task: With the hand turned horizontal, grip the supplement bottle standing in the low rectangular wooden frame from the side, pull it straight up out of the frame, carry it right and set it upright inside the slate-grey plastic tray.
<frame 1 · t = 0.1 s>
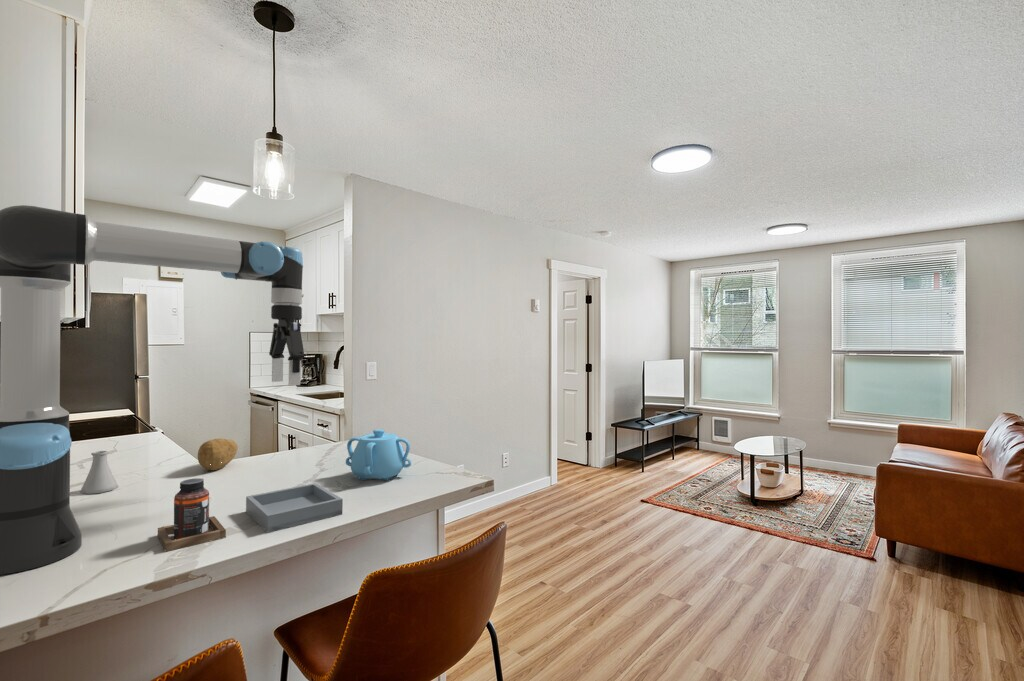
hand: (285, 383, 131), 28 cm above the table, tool pointing down, fingers open, 13 cm apart
tray: (294, 512, 112), on the table
supplement bottle: (191, 537, 98), resting in rectangular wooden frame
potato: (218, 468, 148), on the table
flask: (99, 491, 126), on the table
decorative pot: (378, 476, 142), on the table
rectangular wooden frame: (191, 536, 98), on the table
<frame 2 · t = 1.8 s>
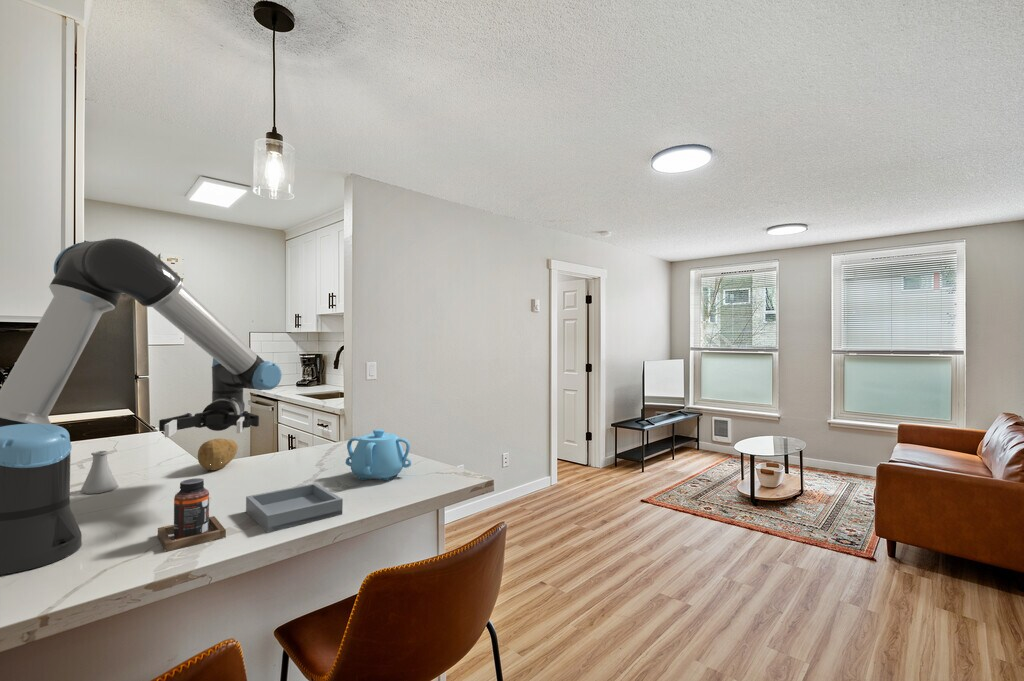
hand: (203, 429, 107), 20 cm above the table, tool horizontal, fingers open, 13 cm apart
nothing on the table moved.
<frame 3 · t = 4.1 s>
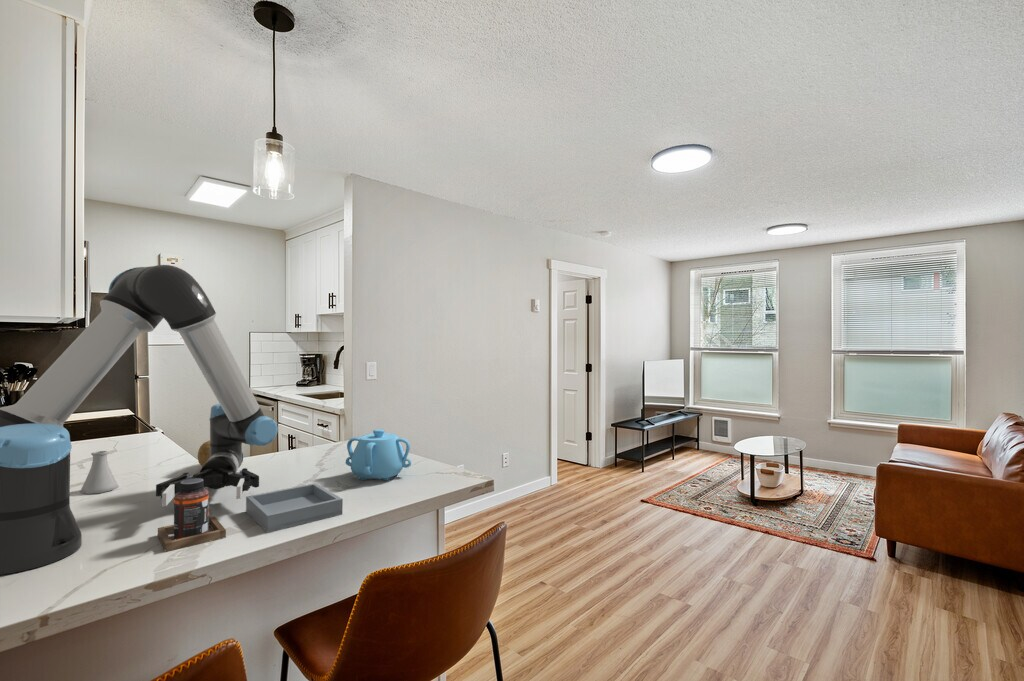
hand: (202, 496, 103), 6 cm above the table, tool horizontal, fingers open, 13 cm apart
nothing on the table moved.
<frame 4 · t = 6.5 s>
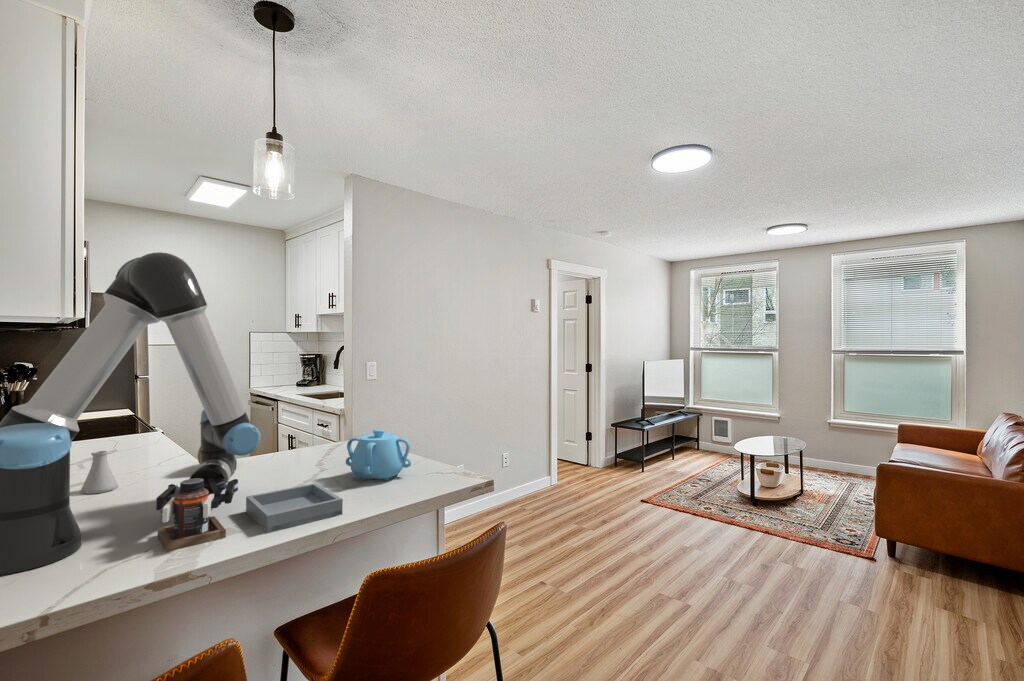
hand: (185, 512, 93), 7 cm above the table, tool horizontal, fingers closed on supplement bottle, 6 cm apart
supplement bottle: (191, 537, 98), resting in rectangular wooden frame, touching gripper
everything else where it was.
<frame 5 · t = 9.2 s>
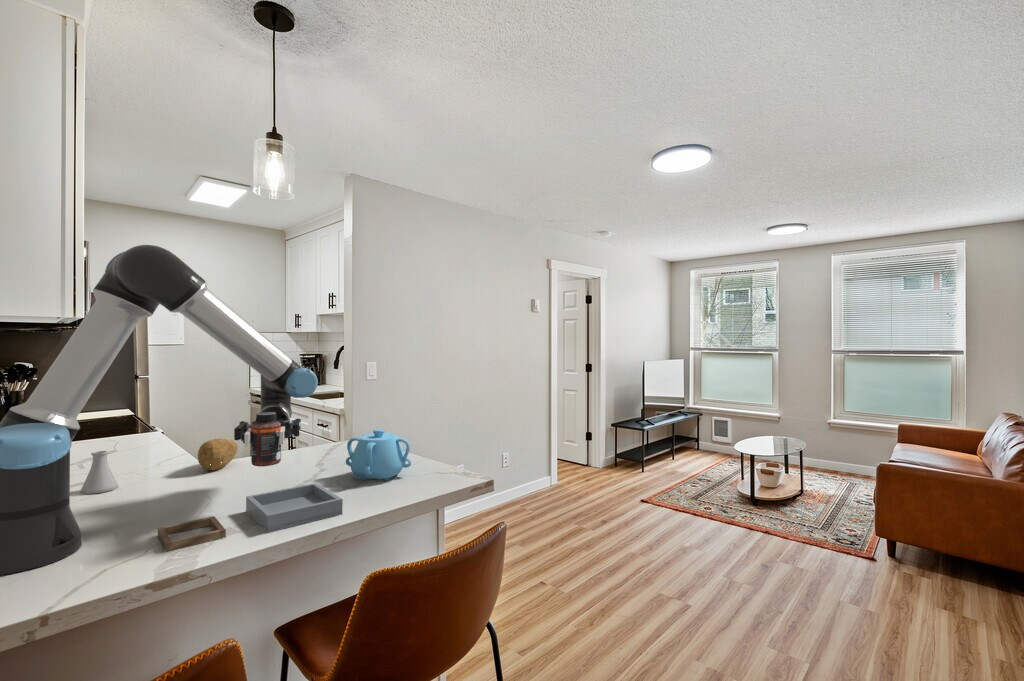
hand: (264, 439, 103), 19 cm above the table, tool horizontal, fingers closed on supplement bottle, 6 cm apart
supplement bottle: (266, 464, 108), point 12 cm above the table, touching gripper
everything else where it was.
when the fingers open (9 cm above the table, at t = 12.3 s): supplement bottle drops 1 cm, resting on tray.
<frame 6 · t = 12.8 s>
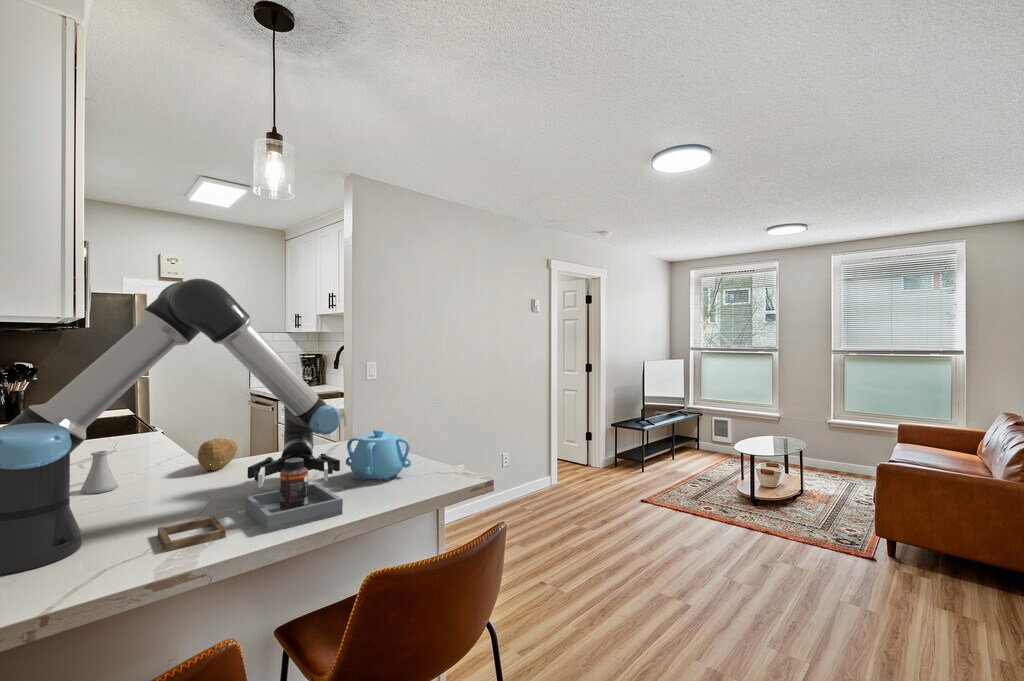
hand: (293, 478, 108), 9 cm above the table, tool horizontal, fingers open, 13 cm apart
supplement bottle: (294, 509, 112), point 1 cm above the table, touching tray
everything else where it was.
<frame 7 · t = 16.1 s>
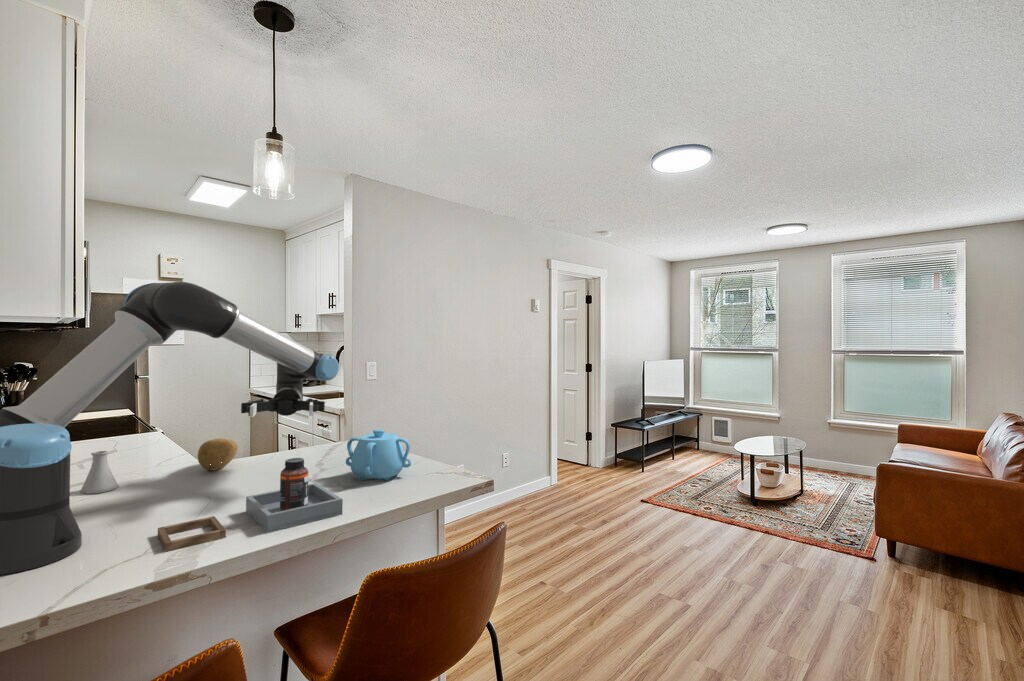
hand: (281, 411, 122), 22 cm above the table, tool horizontal, fingers open, 13 cm apart
nothing on the table moved.
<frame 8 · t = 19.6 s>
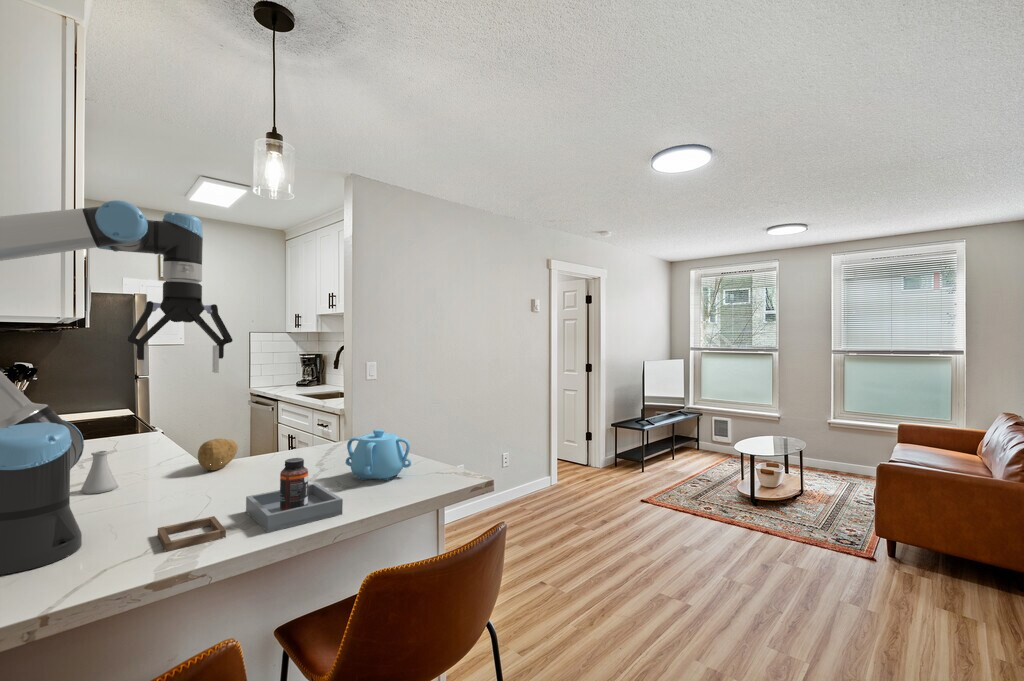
hand: (181, 373, 112), 32 cm above the table, tool pointing down, fingers open, 13 cm apart
nothing on the table moved.
at the end: supplement bottle inside the target area on the tray (0.0 cm from its centre), point 0.8 cm above the tray's base; supplement bottle tilted 0°; the gripper is holding nothing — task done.
